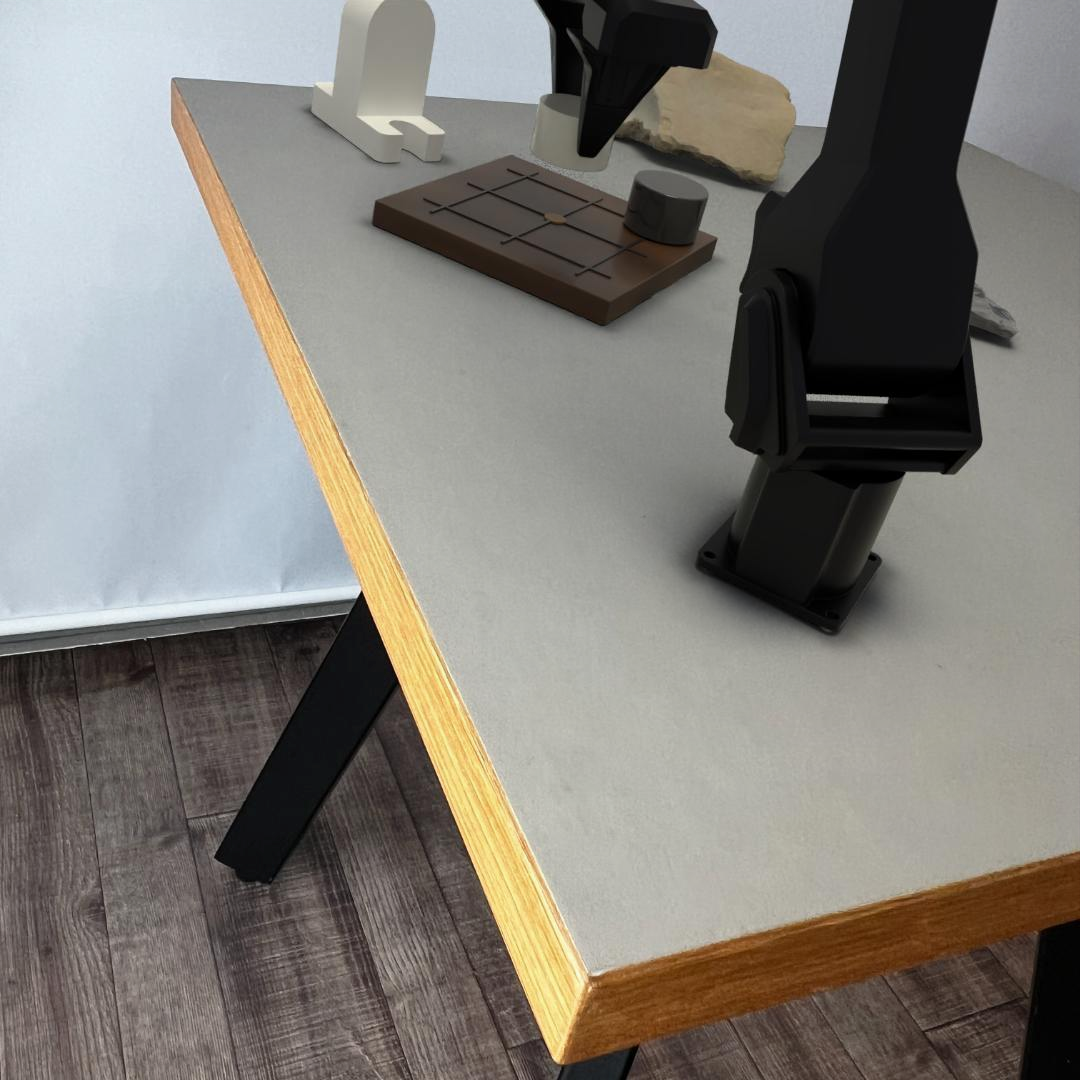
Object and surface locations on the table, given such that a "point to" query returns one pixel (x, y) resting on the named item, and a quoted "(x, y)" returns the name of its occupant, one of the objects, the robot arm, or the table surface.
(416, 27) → the white slotted stand
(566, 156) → the white stone
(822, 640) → the table surface
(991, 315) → the fossil rock
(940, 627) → the table surface
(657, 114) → the decorative stone
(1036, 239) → the table surface
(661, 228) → the black stone
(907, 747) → the table surface
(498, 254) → the board
